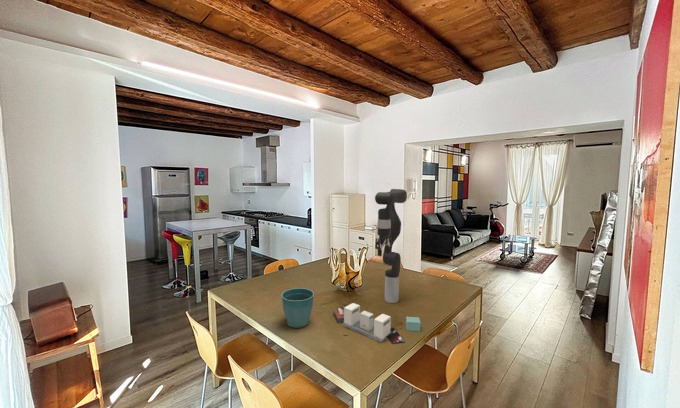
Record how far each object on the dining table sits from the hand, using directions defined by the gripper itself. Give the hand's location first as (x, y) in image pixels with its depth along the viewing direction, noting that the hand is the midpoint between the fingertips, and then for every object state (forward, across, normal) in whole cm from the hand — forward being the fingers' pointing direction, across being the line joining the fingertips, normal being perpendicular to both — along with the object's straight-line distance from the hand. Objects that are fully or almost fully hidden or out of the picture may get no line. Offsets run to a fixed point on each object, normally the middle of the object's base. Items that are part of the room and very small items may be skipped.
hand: (383, 254), depth 166 cm
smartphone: (+39, +13, +15) cm, 43 cm away
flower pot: (+38, +37, -33) cm, 63 cm away
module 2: (+37, +18, +11) cm, 42 cm away
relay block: (+36, +2, +16) cm, 39 cm away
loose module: (+37, +18, +1) cm, 41 cm away
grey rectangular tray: (+38, +18, +1) cm, 42 cm away
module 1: (+37, +18, -9) cm, 42 cm away
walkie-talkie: (+38, +14, -20) cm, 46 cm away
